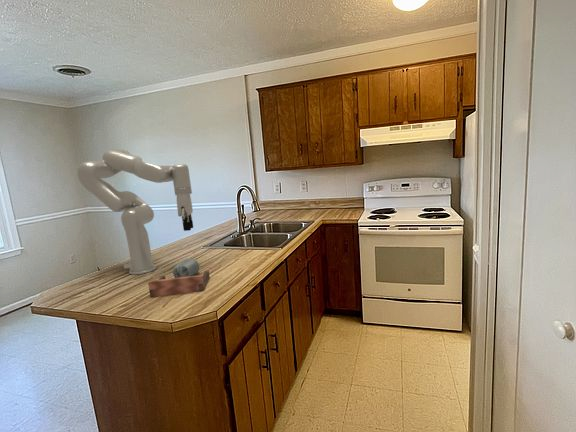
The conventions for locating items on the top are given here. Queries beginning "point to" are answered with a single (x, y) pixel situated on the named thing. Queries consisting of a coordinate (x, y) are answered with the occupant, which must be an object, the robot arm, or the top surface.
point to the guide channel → (178, 285)
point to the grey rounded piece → (186, 268)
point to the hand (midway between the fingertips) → (188, 228)
